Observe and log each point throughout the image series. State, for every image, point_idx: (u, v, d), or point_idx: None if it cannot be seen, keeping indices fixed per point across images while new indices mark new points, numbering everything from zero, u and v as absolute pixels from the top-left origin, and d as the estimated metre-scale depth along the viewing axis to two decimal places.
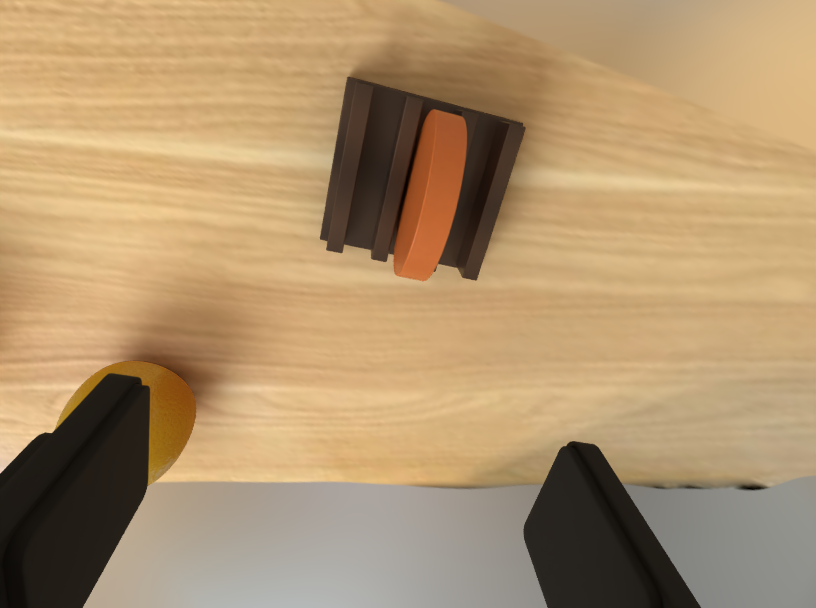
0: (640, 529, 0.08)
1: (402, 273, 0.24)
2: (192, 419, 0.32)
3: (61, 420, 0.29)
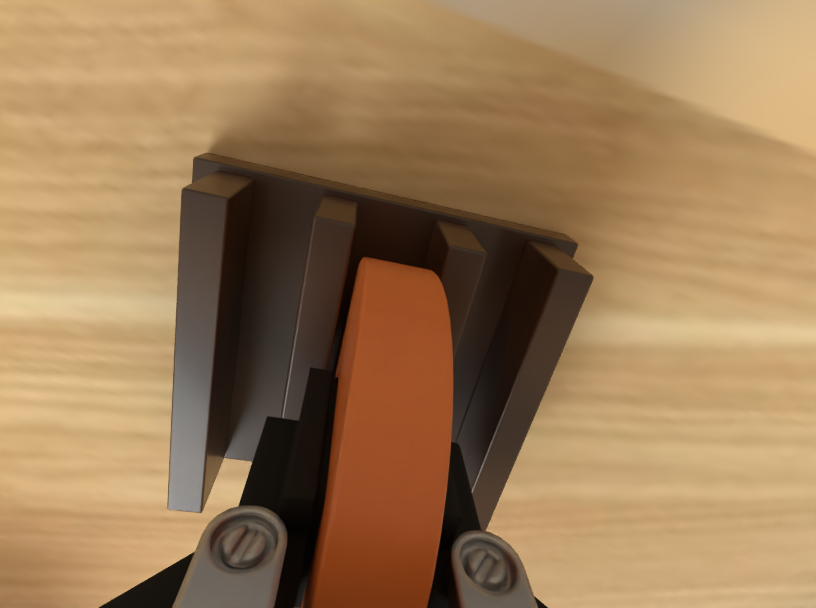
0: None
1: None
2: None
3: None
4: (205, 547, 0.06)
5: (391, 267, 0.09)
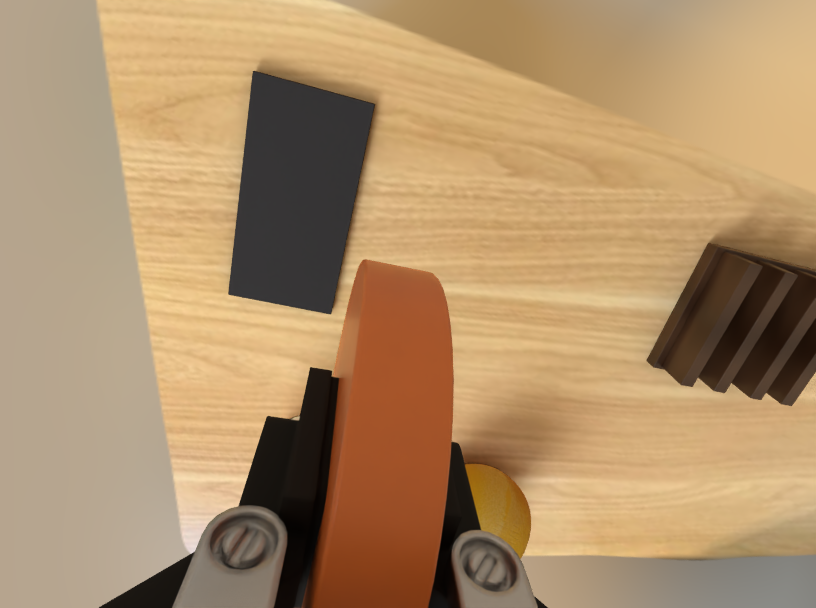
0: None
1: None
2: None
3: None
4: (205, 547, 0.06)
5: (391, 270, 0.09)
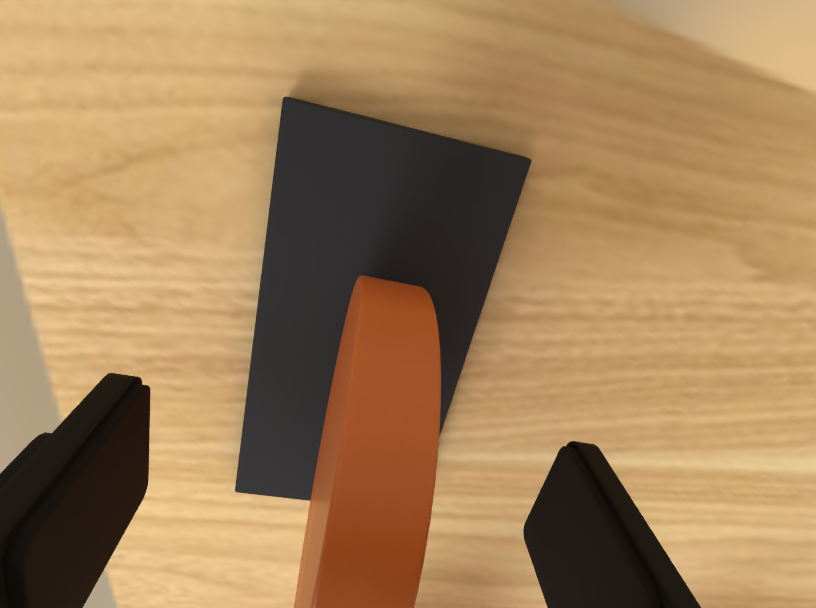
0: (640, 529, 0.08)
1: None
2: None
3: None
4: None
5: (386, 292, 0.10)
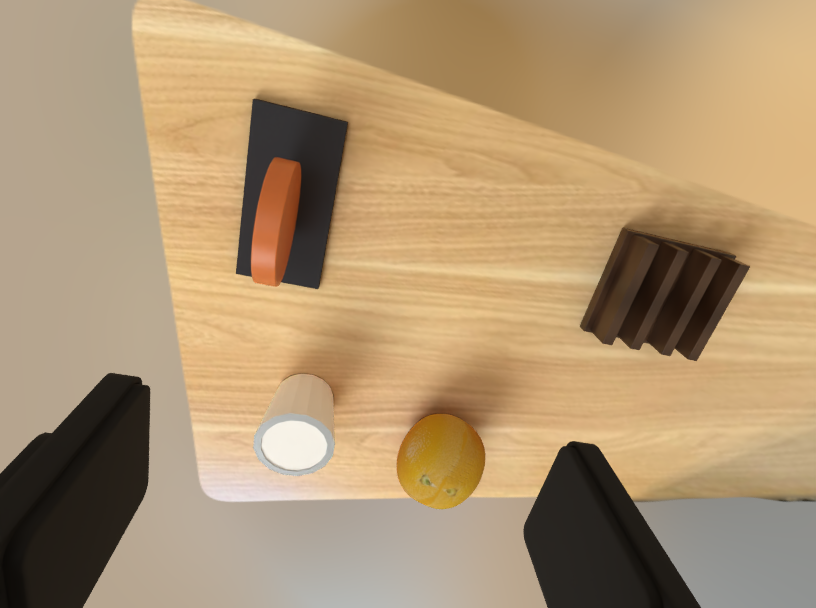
0: (640, 529, 0.08)
1: (255, 282, 0.33)
2: None
3: (418, 459, 0.42)
4: None
5: (282, 159, 0.32)
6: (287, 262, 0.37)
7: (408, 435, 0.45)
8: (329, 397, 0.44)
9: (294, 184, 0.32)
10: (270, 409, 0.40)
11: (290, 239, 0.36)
